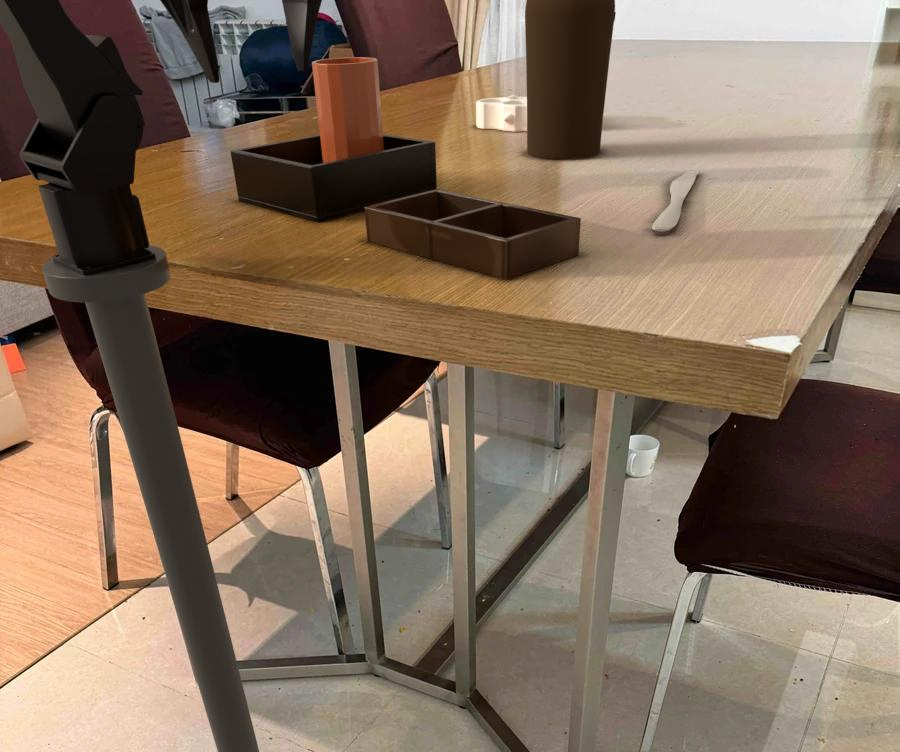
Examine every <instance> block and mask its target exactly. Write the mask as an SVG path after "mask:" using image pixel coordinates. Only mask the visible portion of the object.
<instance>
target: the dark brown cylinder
mask: <svg viewBox="0 0 900 752" xmlns="http://www.w3.org/2000/svg"><path fill="white" fill-rule="evenodd" d="M524 8H525V9H524V26H525V27H524V28H525V29H524V31H525V68H526V71H525V73H526V76H525V77H526V97H527V132H526V151H527V154H528V155H529V156H532V157H534V158H538V159H539V158H540V159H545V160H546V159H548V160H574V159H575V160H576V159H583V158H589V157H592V156H595V155H597V154H599V153H600V151H601V143H602V133H603V124H604V123H603V121H604V112H605V104H606V103H605V102H606V93H607V85H608V77H609V76H608V75H609V69H610V68H609V67H610V59H611V58H610V57H611V48H612V42H613V41H612V40H613V33H614V24H615V20H616V14H617V12H616V0H526V2H525V7H524Z"/></svg>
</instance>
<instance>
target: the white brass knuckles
mask: <svg viewBox="0 0 900 752" xmlns="http://www.w3.org/2000/svg"><path fill="white" fill-rule="evenodd" d="M475 109H476V110H475V118H476V119H475V126H476V128H478V129H481V130H499V131H504V132H513V133H517V132H518V133H521V132H526V133H527V96H520V95H517V94H512V95H511V94H510V95H509V96H503V97H488V98H487V97H486V98H481V99H478V100H476V102H475Z"/></svg>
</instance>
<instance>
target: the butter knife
mask: <svg viewBox="0 0 900 752" xmlns="http://www.w3.org/2000/svg"><path fill="white" fill-rule="evenodd" d="M699 172H700V170H698V169H692V170H689V171H687V172H685V173H683V174H681V175H679V176H678V177H676V178H674V179H673V180H672V181H671V183H670V186H669V192H670V196H671V197H670V203H669V205H668V206H667V207H666V208H665V209H664V210H663V211H662V212H661V213H660V214H659V216H658V217H657V218H656V220H655V221H654V222H653V224H652V225H651V229H652V230H653V231H656V232H668V231H671V230H673V229H674V228H675V226H676V225H677V224H678V223H679V220H680V217H681V215H682V206H683V204H684V203H683V202H684V200H685V198H686V197H687V195H688V194H689V191H690V190H691V188H692V187H693V185H694V183H695V181H696V178H697V176H698V174H699Z"/></svg>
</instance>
